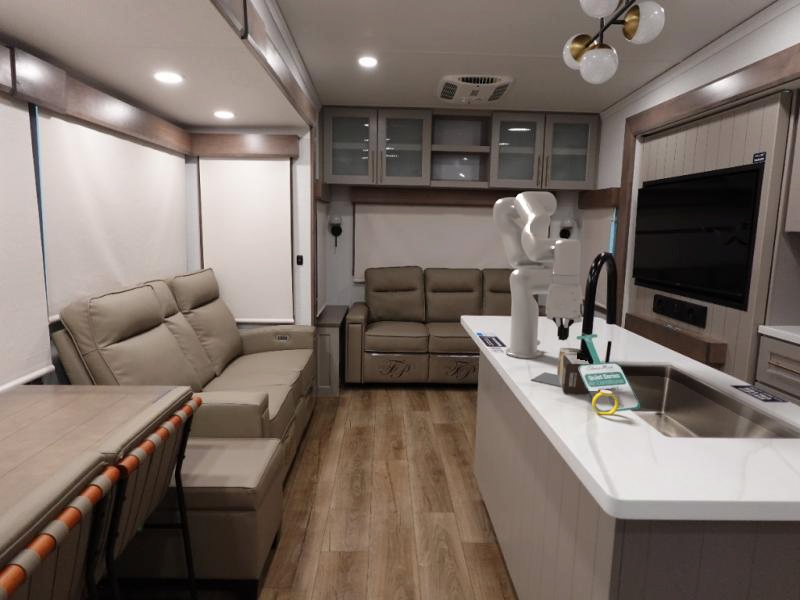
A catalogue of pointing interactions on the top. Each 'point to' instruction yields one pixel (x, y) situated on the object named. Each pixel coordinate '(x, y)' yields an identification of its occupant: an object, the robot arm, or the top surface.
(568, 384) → the coffee box
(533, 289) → the robot arm
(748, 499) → the top surface
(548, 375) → the mat
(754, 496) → the top surface
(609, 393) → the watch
